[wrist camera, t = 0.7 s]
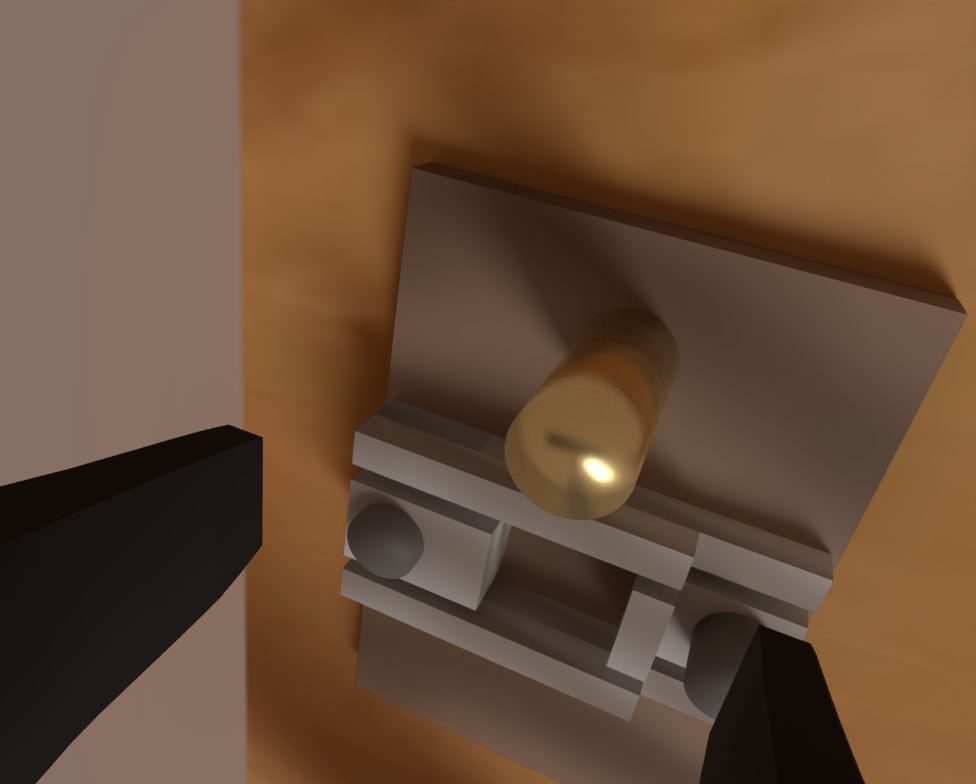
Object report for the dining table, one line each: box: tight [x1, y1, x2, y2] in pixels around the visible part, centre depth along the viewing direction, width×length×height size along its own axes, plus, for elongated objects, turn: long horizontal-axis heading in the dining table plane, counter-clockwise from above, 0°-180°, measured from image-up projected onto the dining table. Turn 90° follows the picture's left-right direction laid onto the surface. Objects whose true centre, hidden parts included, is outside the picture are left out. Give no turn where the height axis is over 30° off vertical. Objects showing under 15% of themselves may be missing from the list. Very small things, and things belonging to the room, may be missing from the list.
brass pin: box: [504, 309, 680, 520], centre depth 15 cm, size 2×2×5 cm
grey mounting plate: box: [340, 162, 967, 784], centre depth 19 cm, size 18×12×4 cm, turn 170°
